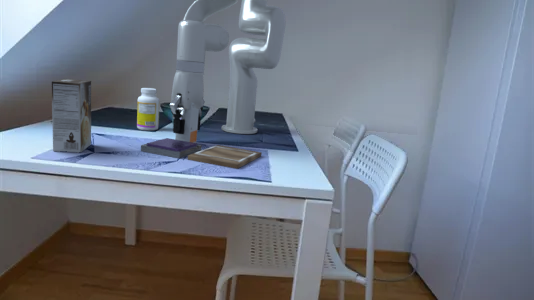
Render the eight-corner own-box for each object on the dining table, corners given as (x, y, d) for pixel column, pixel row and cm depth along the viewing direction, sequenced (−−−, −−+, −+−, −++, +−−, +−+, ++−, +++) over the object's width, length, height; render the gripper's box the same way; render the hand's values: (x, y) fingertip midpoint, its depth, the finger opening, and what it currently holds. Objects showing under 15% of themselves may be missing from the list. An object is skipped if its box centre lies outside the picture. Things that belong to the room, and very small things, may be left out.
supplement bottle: (145, 126, 135) (146, 87, 132) (162, 129, 133) (164, 89, 130) (132, 128, 129) (133, 87, 126) (150, 131, 127) (151, 90, 124)
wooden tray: (217, 148, 113) (217, 144, 113) (261, 156, 109) (261, 151, 109) (187, 159, 98) (187, 154, 98) (237, 168, 94) (237, 163, 94)
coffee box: (64, 143, 102) (64, 78, 99) (91, 144, 103) (92, 80, 100) (51, 151, 93) (50, 80, 90) (81, 153, 95) (81, 83, 91)
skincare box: (189, 146, 112) (191, 102, 110) (174, 144, 113) (176, 101, 110) (197, 142, 118) (199, 101, 115) (183, 140, 119) (185, 99, 116)
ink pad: (165, 144, 112) (165, 137, 111) (201, 150, 108) (201, 143, 108) (140, 151, 102) (140, 143, 101) (179, 158, 98) (179, 150, 98)
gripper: (194, 67, 120) (190, 126, 124) (160, 66, 104) (157, 133, 108) (217, 70, 118) (212, 129, 122) (185, 69, 102) (182, 137, 105)
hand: (186, 131), depth 115 cm, fingers open, 8 cm apart
